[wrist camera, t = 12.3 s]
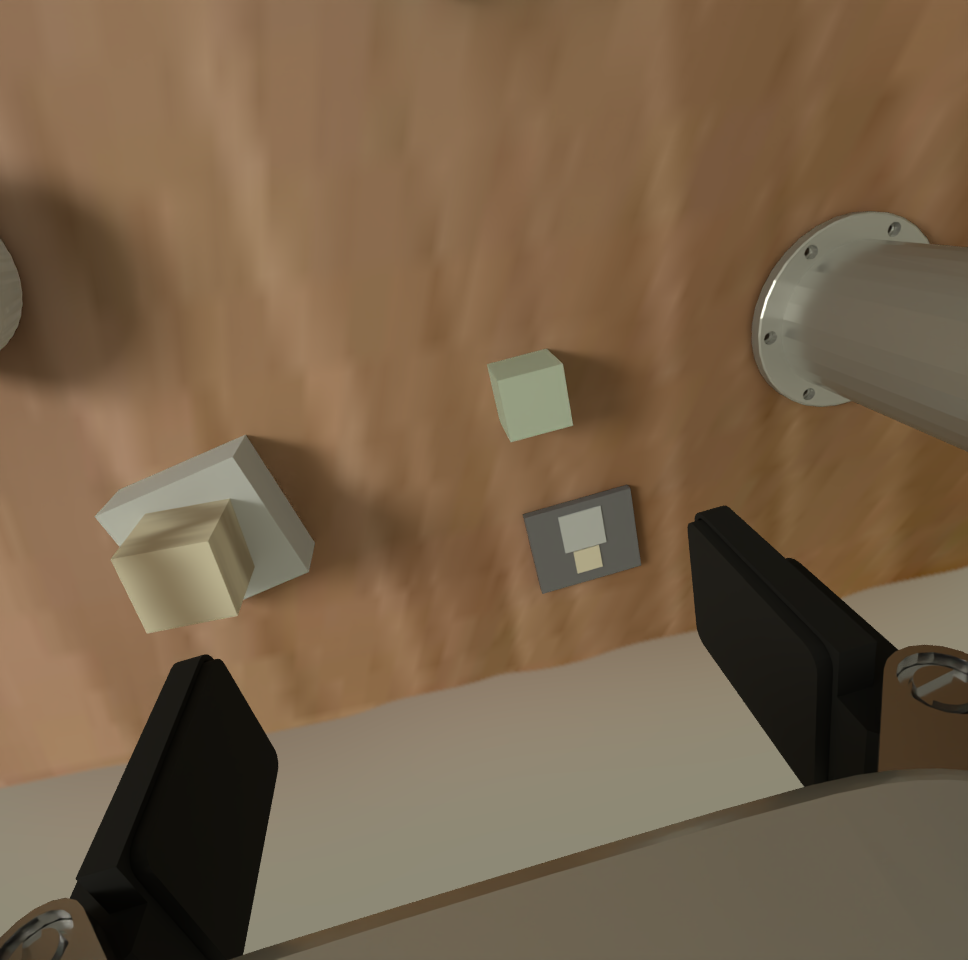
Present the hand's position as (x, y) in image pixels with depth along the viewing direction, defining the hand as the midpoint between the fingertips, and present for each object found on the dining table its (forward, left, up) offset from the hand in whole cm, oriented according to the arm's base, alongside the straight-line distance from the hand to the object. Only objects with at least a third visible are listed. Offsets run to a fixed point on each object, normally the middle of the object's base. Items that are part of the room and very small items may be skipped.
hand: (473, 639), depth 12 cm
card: (-8, +18, -28) cm, 34 cm away
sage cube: (-6, +5, -28) cm, 29 cm away
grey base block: (+16, +8, -29) cm, 34 cm away
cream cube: (+16, +8, -25) cm, 30 cm away
